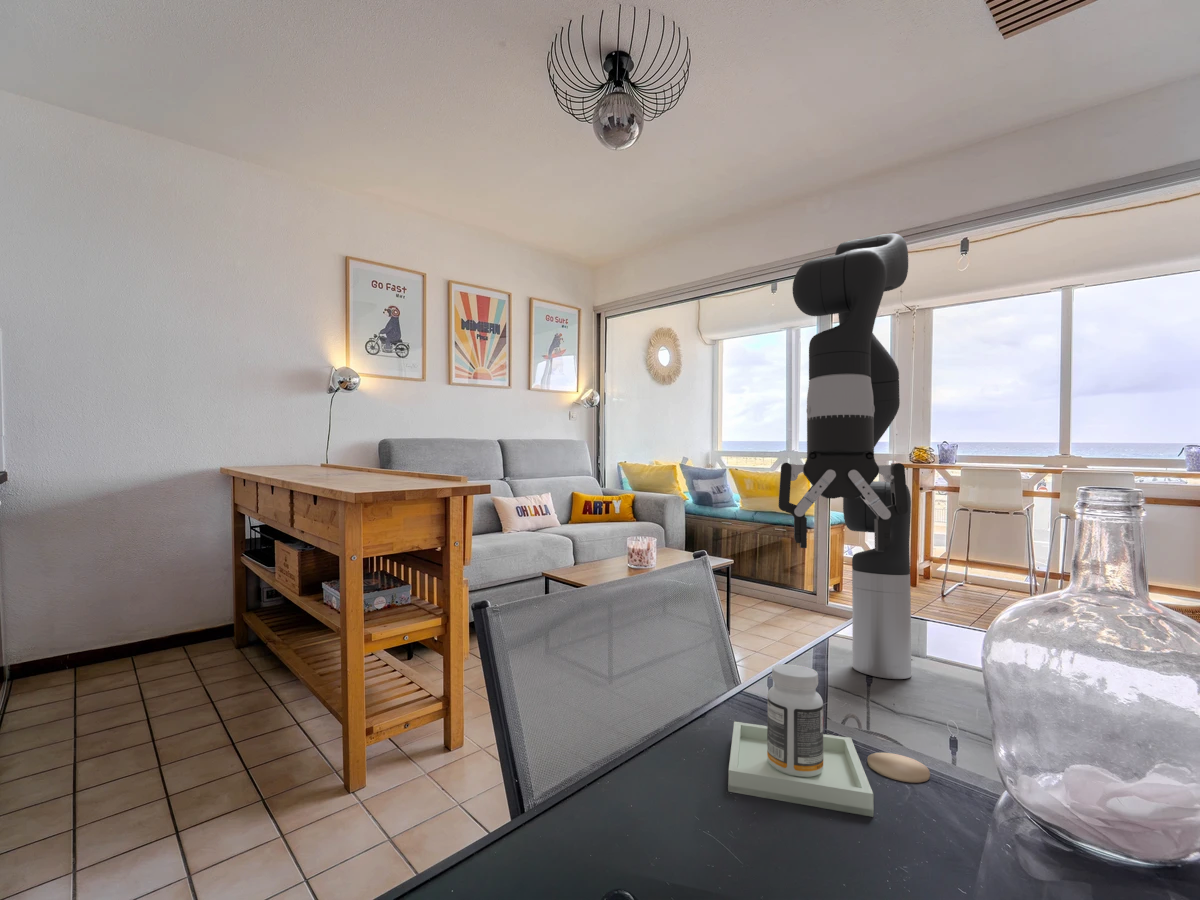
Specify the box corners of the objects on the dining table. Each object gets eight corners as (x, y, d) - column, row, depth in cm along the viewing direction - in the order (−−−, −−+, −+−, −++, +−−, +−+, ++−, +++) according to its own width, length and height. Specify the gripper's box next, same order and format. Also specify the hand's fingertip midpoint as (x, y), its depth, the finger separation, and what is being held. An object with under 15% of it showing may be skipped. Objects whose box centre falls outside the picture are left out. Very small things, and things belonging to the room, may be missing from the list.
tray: (733, 738, 67) (734, 721, 67) (851, 756, 64) (851, 737, 64) (728, 791, 55) (728, 770, 55) (873, 816, 51) (873, 794, 51)
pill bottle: (822, 759, 61) (822, 666, 62) (824, 784, 56) (825, 681, 56) (767, 750, 63) (768, 659, 64) (765, 773, 57) (766, 673, 58)
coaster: (863, 752, 65) (863, 749, 65) (921, 761, 63) (921, 757, 63) (873, 776, 59) (873, 772, 59) (937, 786, 57) (937, 782, 57)
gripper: (897, 418, 70) (898, 548, 69) (778, 420, 74) (778, 543, 73) (912, 410, 63) (914, 556, 62) (779, 413, 67) (779, 549, 66)
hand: (840, 549), depth 67 cm, fingers open, 8 cm apart
